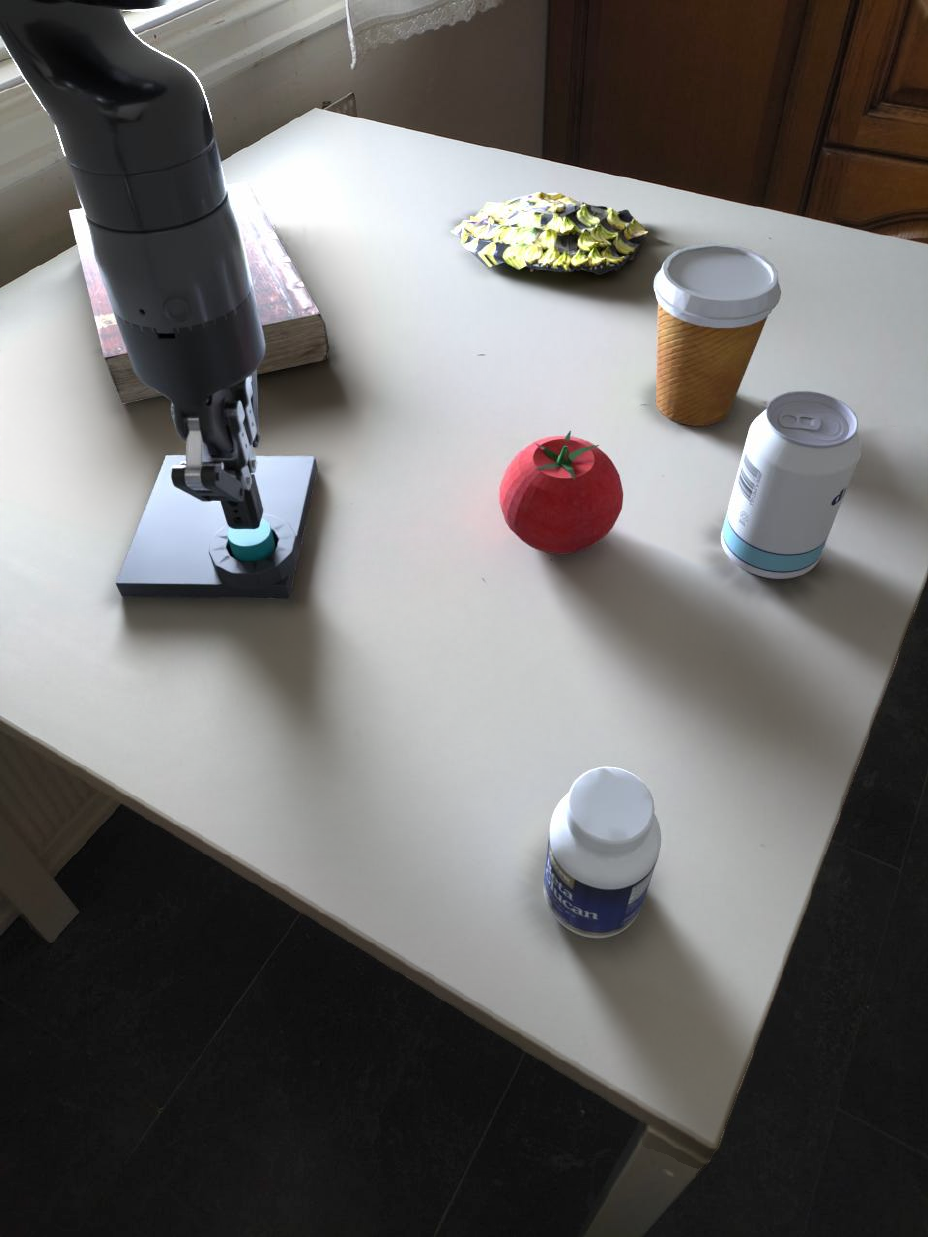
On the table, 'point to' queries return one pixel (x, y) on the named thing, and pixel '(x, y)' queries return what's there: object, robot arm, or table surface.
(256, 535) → the button
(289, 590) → the scale
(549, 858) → the pill bottle
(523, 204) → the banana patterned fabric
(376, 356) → the table surface
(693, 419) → the disposable coffee cup
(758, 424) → the beverage can
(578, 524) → the tomato
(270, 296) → the hardback book
